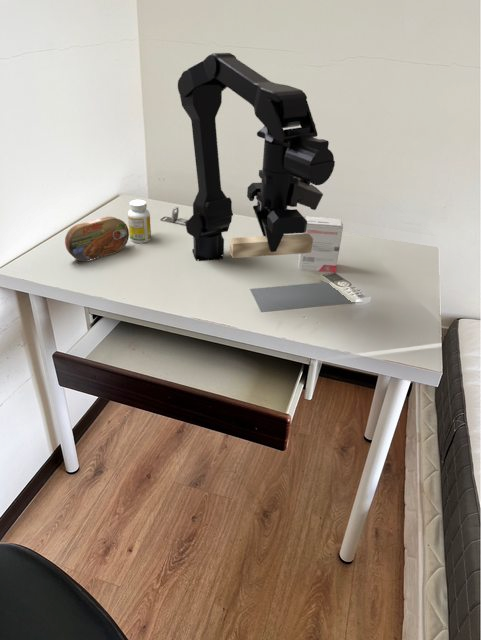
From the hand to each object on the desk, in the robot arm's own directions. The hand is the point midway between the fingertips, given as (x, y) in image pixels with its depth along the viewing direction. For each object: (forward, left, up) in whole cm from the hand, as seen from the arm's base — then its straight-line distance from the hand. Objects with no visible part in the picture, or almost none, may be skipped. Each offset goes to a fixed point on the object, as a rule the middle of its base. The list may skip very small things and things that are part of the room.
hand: (271, 248), depth 91 cm
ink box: (+15, +10, -12) cm, 22 cm away
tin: (-34, +25, -12) cm, 44 cm away
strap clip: (-14, +42, -12) cm, 46 cm away
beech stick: (0, 0, -1) cm, 1 cm away
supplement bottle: (-24, +32, -12) cm, 42 cm away
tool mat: (+8, -2, -11) cm, 14 cm away
